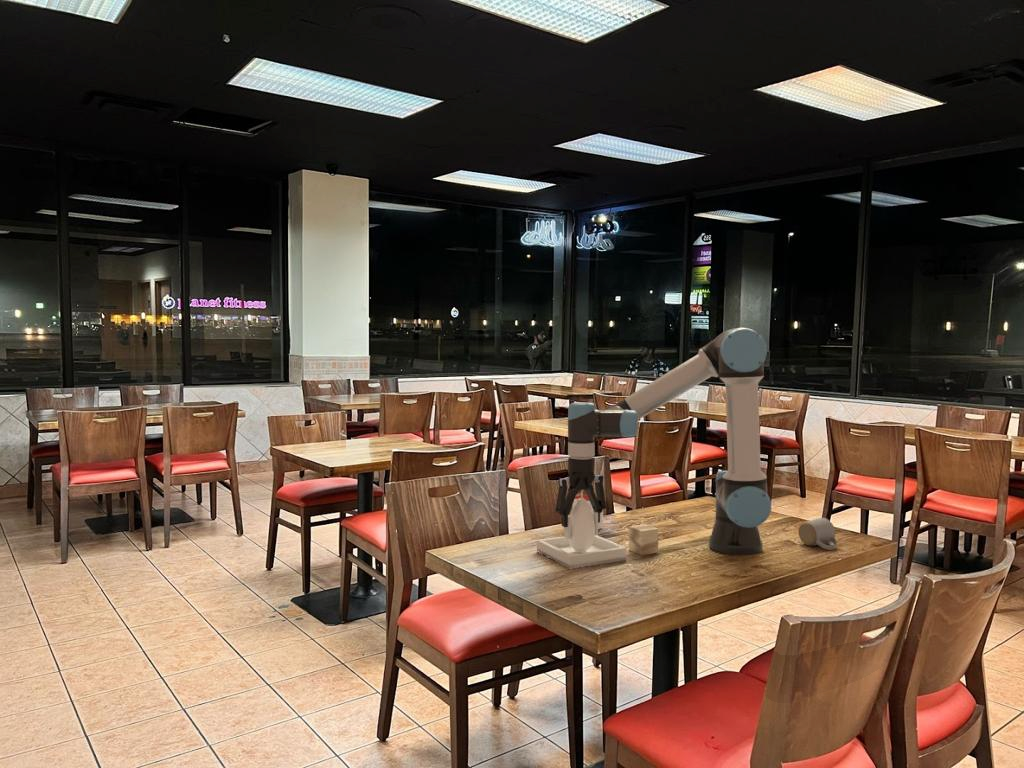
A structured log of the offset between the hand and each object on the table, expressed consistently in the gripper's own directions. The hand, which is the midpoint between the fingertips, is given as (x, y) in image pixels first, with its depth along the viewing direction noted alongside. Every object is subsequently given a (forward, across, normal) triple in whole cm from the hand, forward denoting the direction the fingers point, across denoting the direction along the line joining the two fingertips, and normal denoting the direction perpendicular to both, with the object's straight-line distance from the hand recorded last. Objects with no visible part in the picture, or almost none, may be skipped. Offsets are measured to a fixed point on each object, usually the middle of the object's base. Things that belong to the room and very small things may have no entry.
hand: (580, 536), depth 209 cm
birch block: (+6, -19, +4) cm, 20 cm away
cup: (+6, -19, -26) cm, 33 cm away
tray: (+6, 0, 0) cm, 6 cm away
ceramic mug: (+6, -70, +23) cm, 74 cm away
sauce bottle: (+5, 0, 0) cm, 5 cm away
